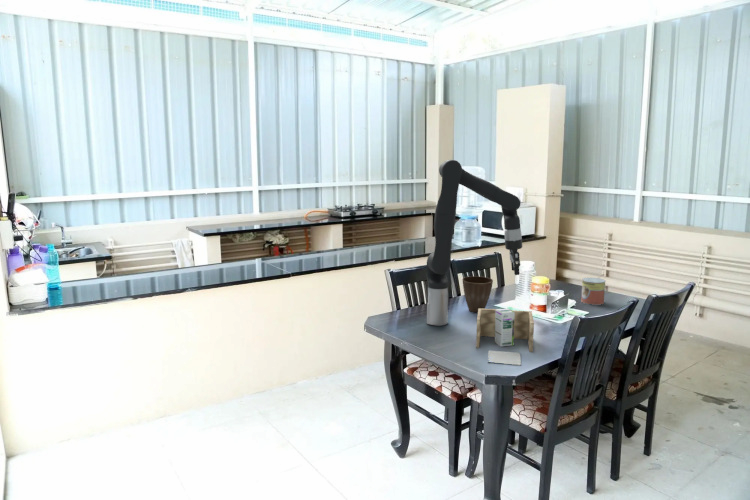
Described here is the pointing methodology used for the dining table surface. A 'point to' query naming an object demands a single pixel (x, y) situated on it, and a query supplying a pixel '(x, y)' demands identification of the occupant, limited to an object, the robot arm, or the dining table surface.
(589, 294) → the canned food
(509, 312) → the syrup box
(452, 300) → the dining table surface
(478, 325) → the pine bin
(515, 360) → the grey mat
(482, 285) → the plant pot
